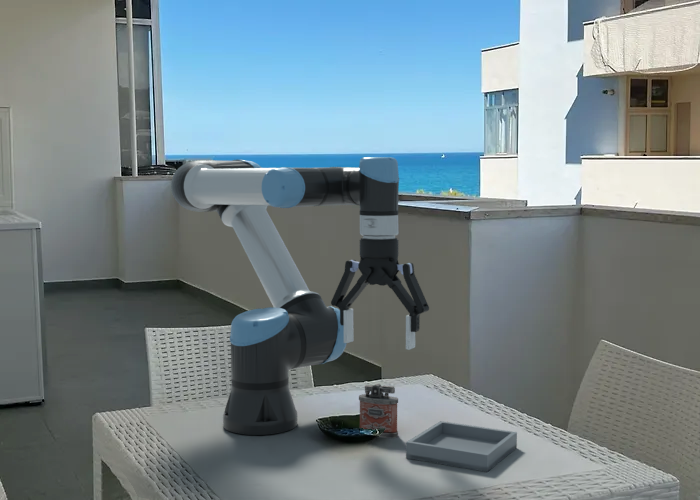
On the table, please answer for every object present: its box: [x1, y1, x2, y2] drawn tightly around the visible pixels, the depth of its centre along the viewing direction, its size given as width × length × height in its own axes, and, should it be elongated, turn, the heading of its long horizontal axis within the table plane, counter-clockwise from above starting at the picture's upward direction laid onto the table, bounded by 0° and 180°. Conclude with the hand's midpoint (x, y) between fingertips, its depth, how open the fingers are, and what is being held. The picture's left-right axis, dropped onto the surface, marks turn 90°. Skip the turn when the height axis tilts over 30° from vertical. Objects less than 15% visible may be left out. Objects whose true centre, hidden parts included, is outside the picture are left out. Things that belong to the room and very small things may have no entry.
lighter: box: [358, 383, 399, 439], centre depth 183 cm, size 8×3×10 cm, turn 68°
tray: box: [405, 420, 518, 473], centre depth 172 cm, size 16×16×3 cm
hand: (379, 345), depth 182 cm, fingers open, 13 cm apart
